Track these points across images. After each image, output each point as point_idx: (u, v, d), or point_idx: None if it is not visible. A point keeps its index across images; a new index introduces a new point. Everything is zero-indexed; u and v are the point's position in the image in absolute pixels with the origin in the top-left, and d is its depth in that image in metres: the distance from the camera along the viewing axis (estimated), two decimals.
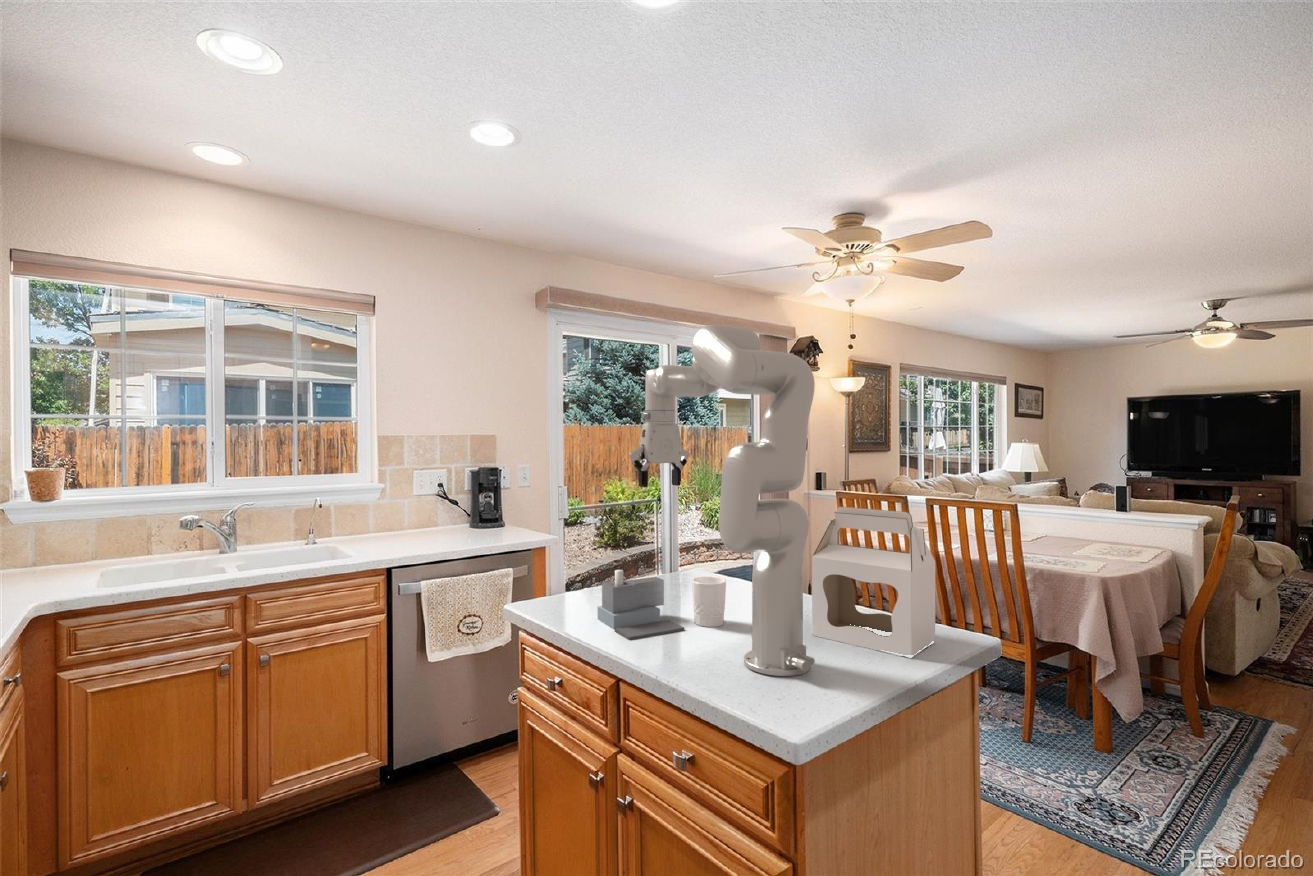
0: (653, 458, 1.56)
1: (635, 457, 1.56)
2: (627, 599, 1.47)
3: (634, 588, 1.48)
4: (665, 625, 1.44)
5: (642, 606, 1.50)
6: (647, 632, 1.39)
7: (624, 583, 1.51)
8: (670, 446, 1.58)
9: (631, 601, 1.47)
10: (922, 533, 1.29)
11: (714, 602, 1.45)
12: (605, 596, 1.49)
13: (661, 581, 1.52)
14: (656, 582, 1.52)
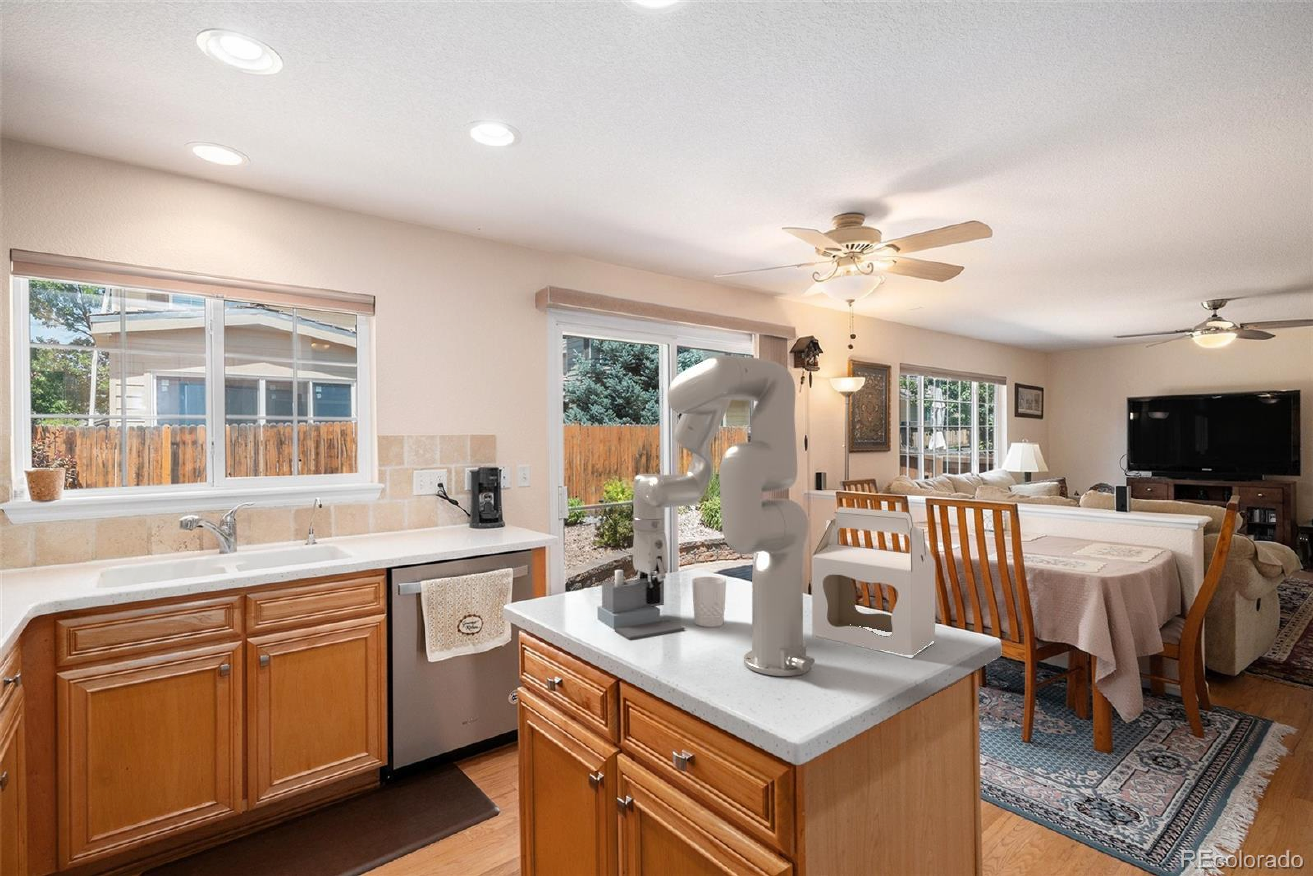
0: None
1: None
2: (627, 599, 1.47)
3: (634, 588, 1.48)
4: (665, 625, 1.44)
5: (642, 606, 1.50)
6: (647, 632, 1.39)
7: (624, 583, 1.51)
8: None
9: (631, 601, 1.47)
10: (922, 533, 1.29)
11: (714, 602, 1.45)
12: (605, 596, 1.49)
13: None
14: None
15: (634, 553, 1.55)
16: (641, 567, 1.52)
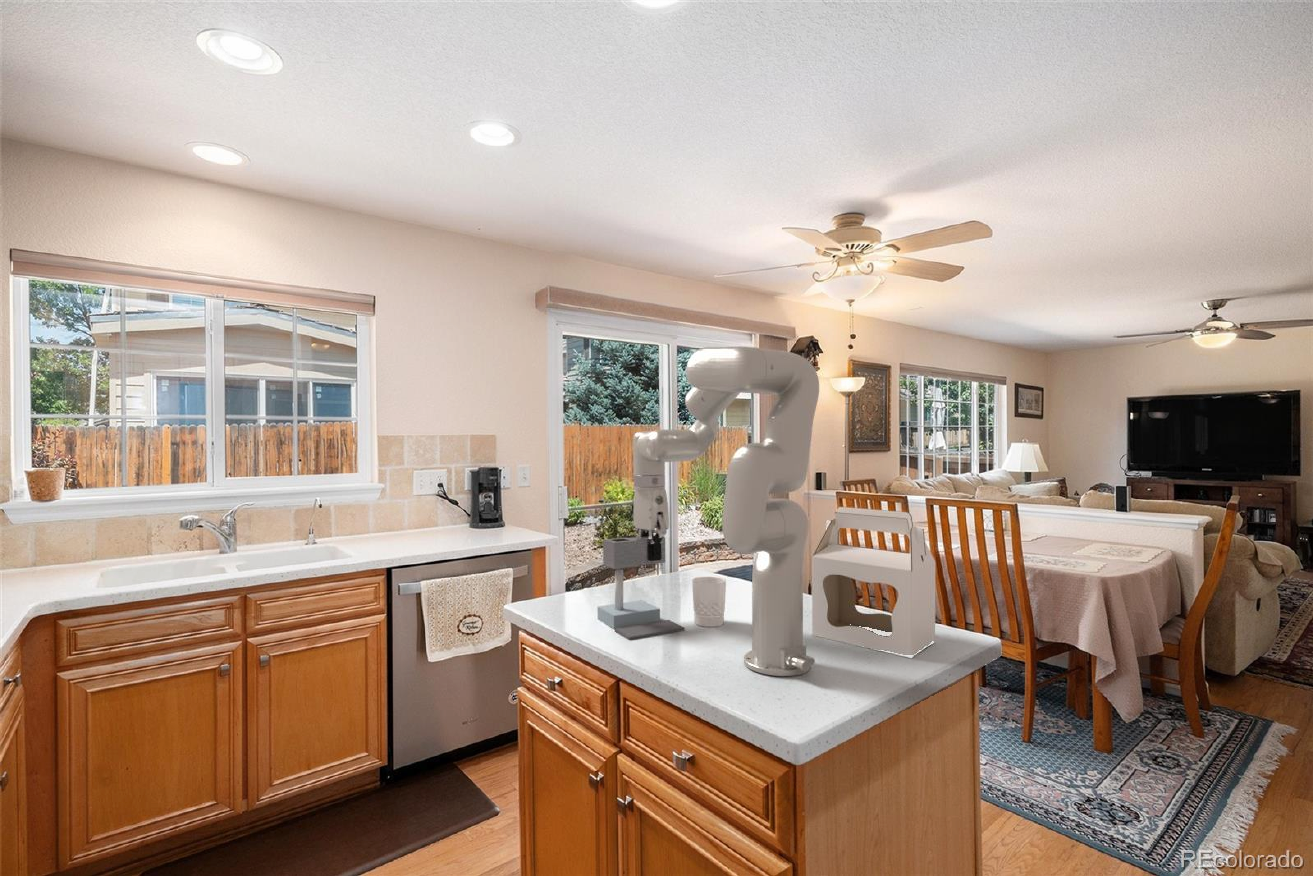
0: None
1: None
2: (628, 555, 1.46)
3: (635, 544, 1.47)
4: (665, 625, 1.44)
5: (643, 562, 1.49)
6: (647, 632, 1.39)
7: (625, 540, 1.50)
8: None
9: (632, 557, 1.47)
10: (922, 533, 1.29)
11: (714, 602, 1.45)
12: (606, 553, 1.48)
13: None
14: None
15: (635, 511, 1.54)
16: (642, 524, 1.51)
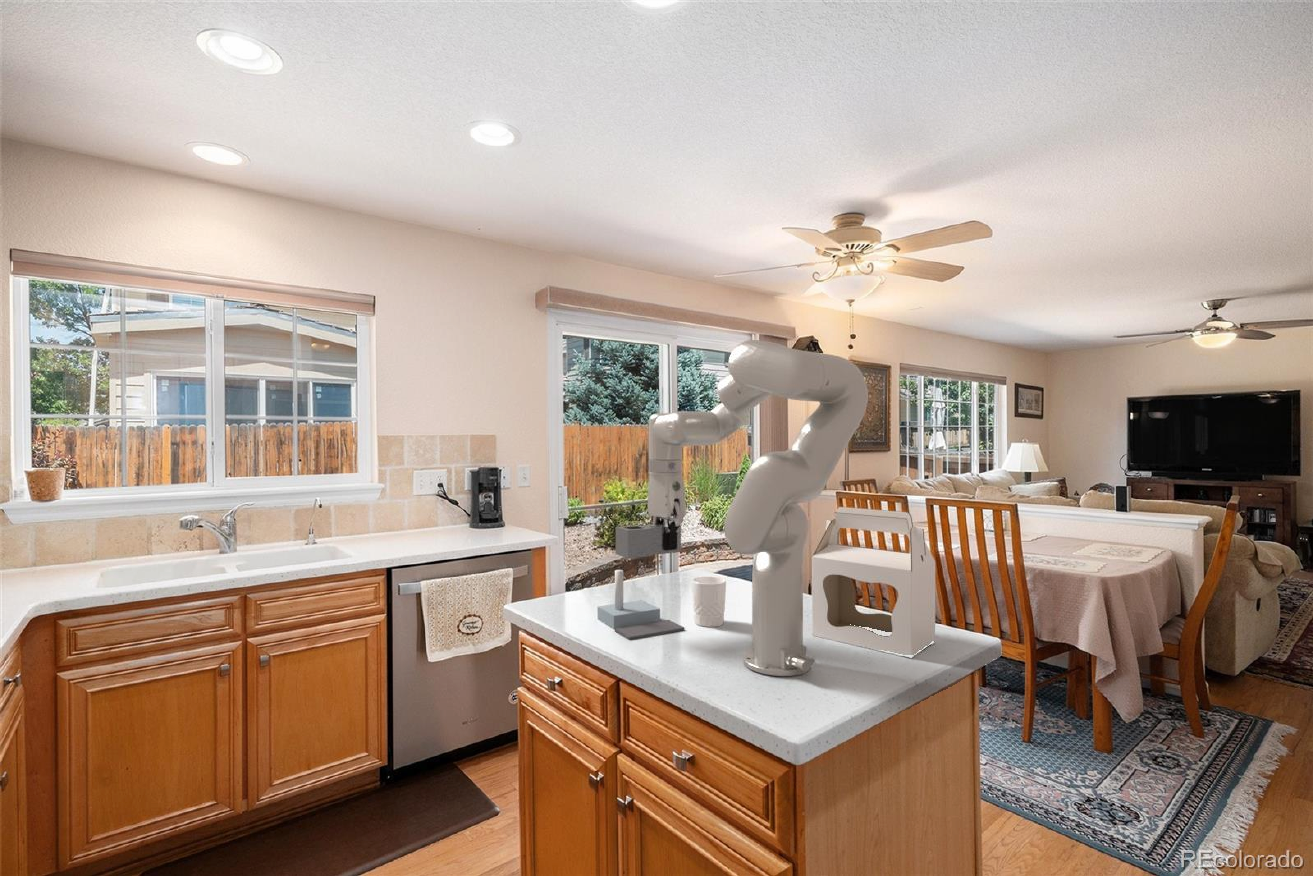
0: None
1: None
2: (643, 543, 1.38)
3: (650, 532, 1.39)
4: (665, 625, 1.44)
5: (658, 552, 1.41)
6: (647, 632, 1.39)
7: (639, 528, 1.42)
8: None
9: (647, 546, 1.38)
10: (922, 533, 1.29)
11: (714, 602, 1.45)
12: (619, 541, 1.40)
13: None
14: None
15: (649, 498, 1.46)
16: (657, 511, 1.43)
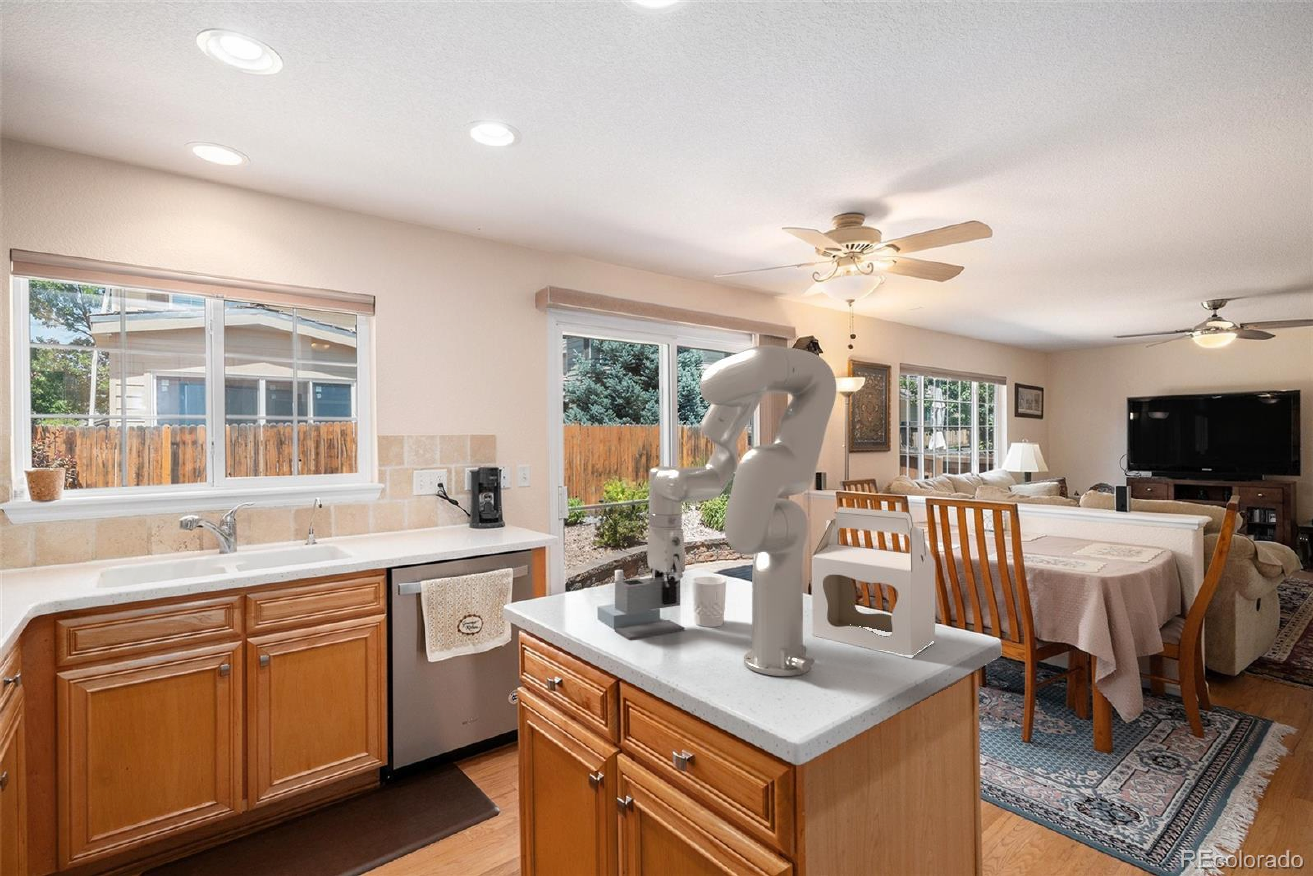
0: None
1: None
2: (642, 599, 1.38)
3: (649, 587, 1.39)
4: (665, 625, 1.44)
5: (657, 606, 1.41)
6: (647, 632, 1.39)
7: (638, 582, 1.42)
8: None
9: (646, 602, 1.39)
10: (922, 533, 1.29)
11: (714, 602, 1.45)
12: (618, 596, 1.40)
13: None
14: None
15: (649, 550, 1.46)
16: (656, 565, 1.43)
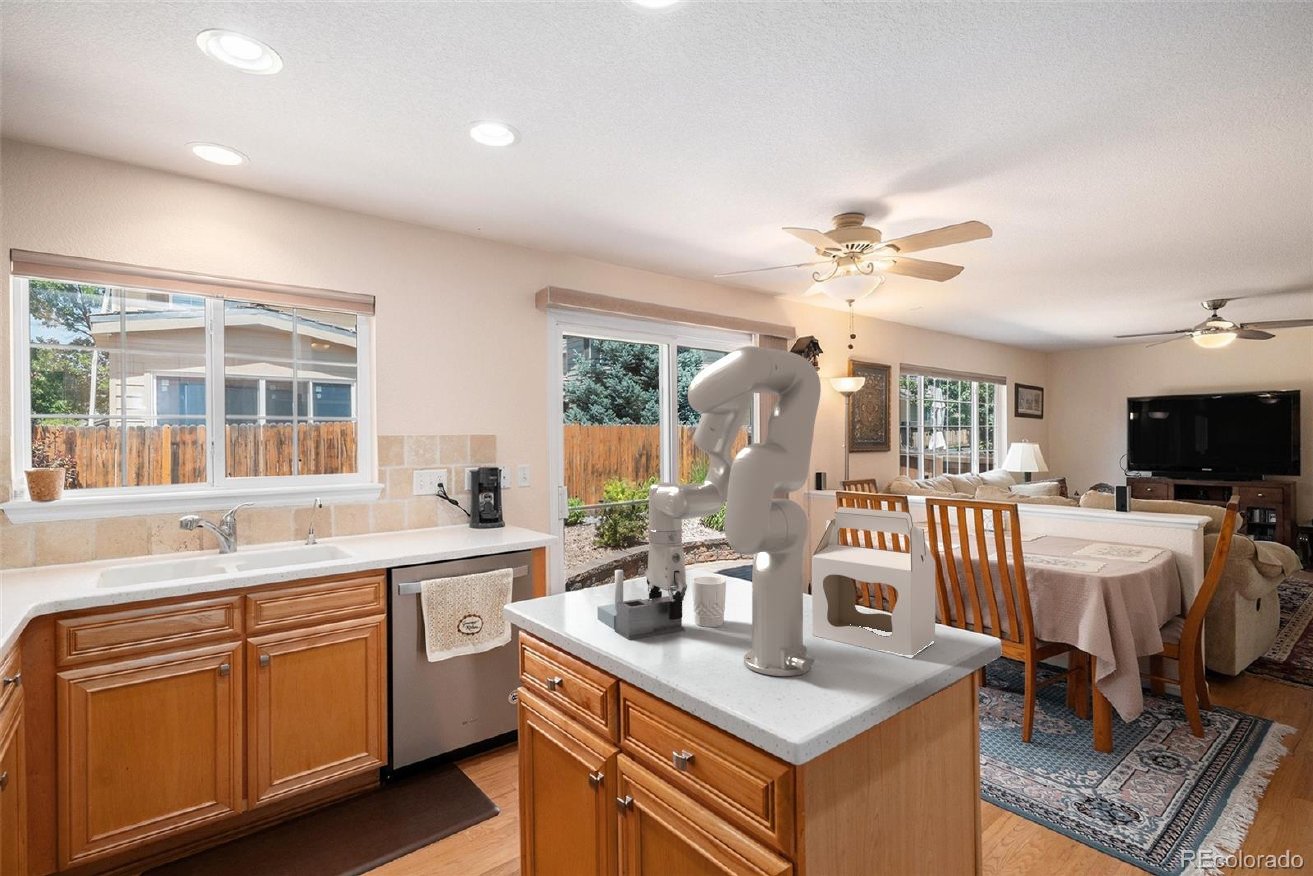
0: None
1: None
2: (643, 620, 1.38)
3: (651, 609, 1.39)
4: None
5: (659, 627, 1.41)
6: None
7: (640, 603, 1.42)
8: None
9: (648, 623, 1.39)
10: (922, 533, 1.29)
11: (714, 602, 1.45)
12: (620, 617, 1.40)
13: None
14: None
15: (649, 567, 1.46)
16: (657, 582, 1.43)
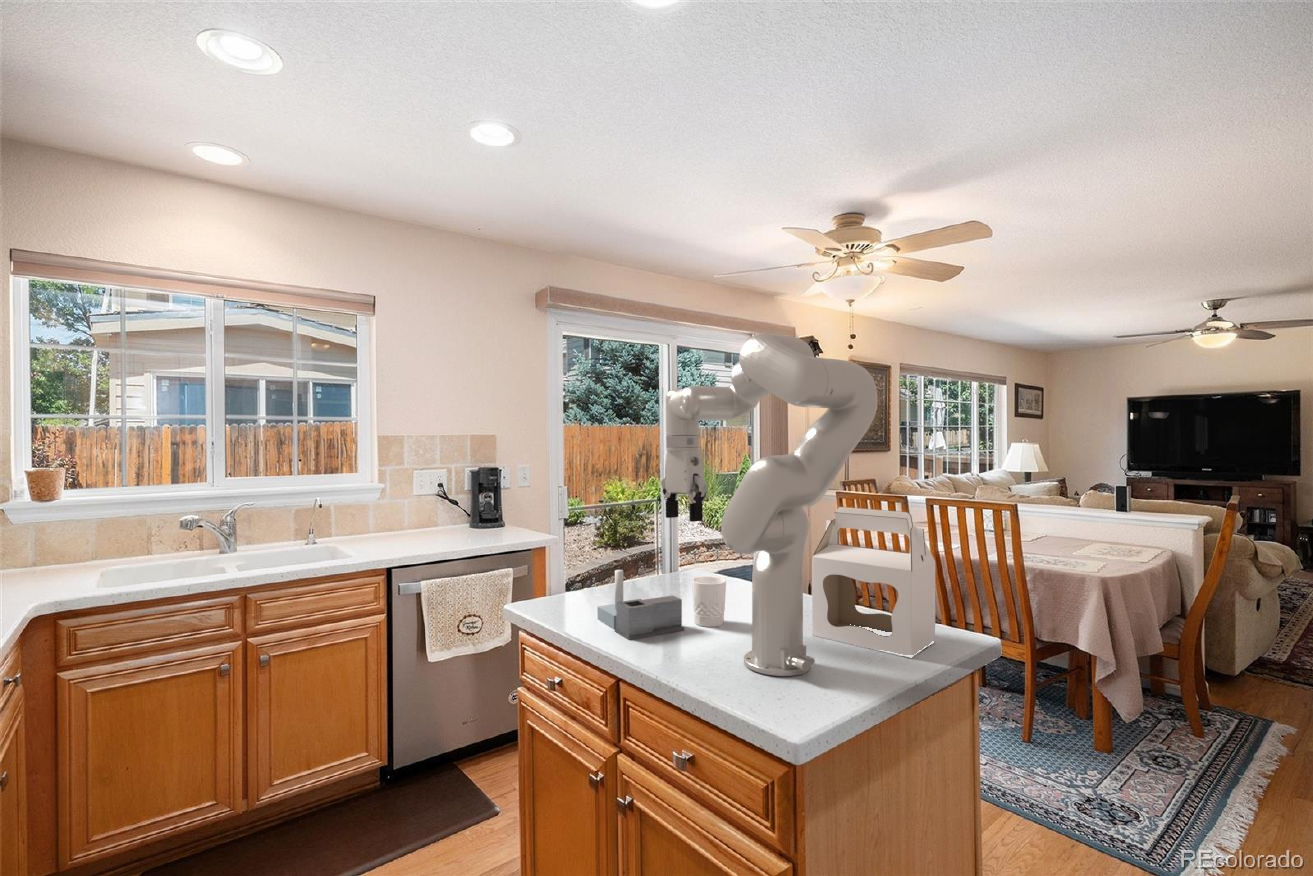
0: None
1: None
2: (643, 620, 1.38)
3: (651, 609, 1.39)
4: None
5: (659, 627, 1.41)
6: None
7: (640, 603, 1.42)
8: None
9: (648, 623, 1.39)
10: (922, 533, 1.29)
11: (714, 602, 1.45)
12: (620, 617, 1.40)
13: (679, 601, 1.44)
14: (674, 602, 1.43)
15: (667, 475, 1.46)
16: (675, 487, 1.43)
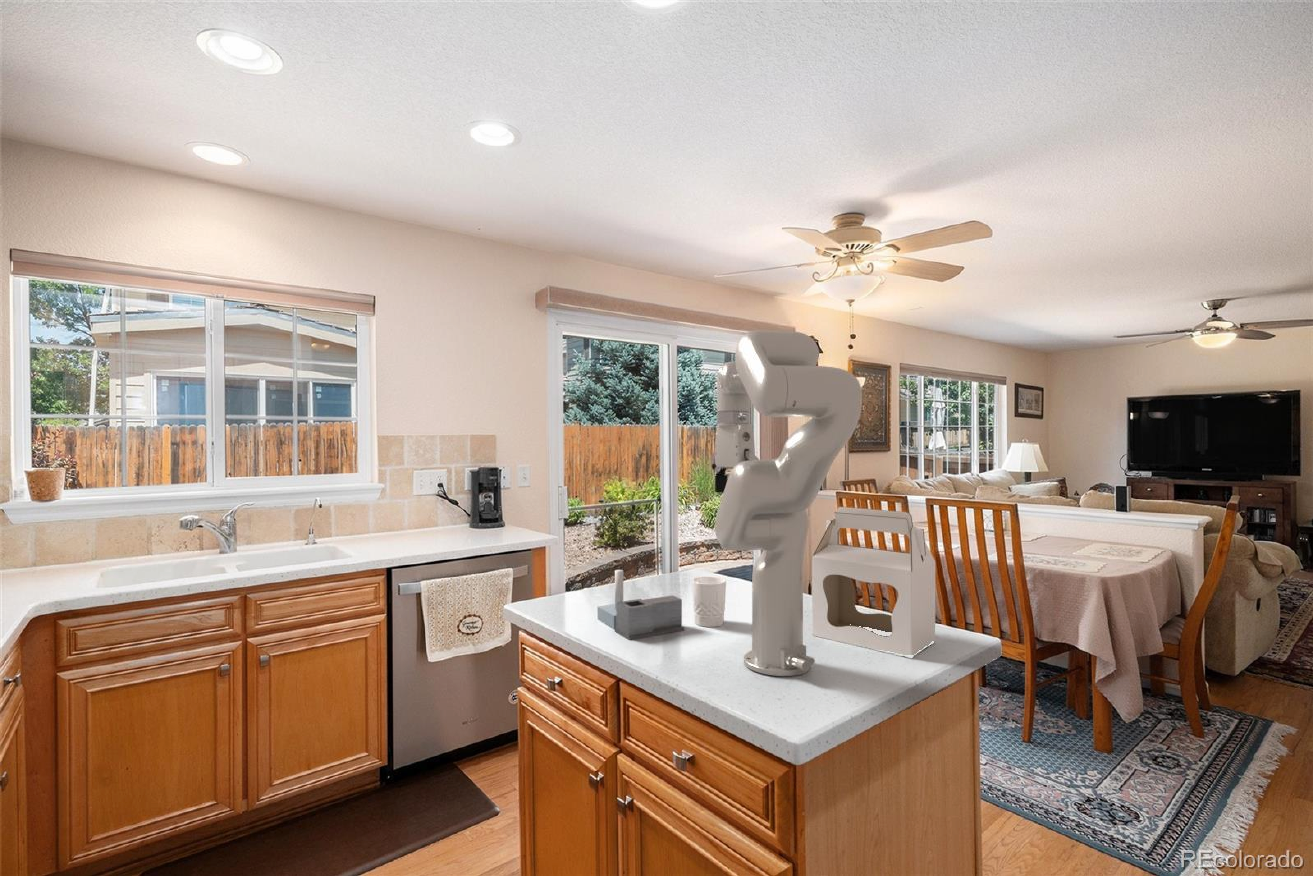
0: None
1: None
2: (643, 620, 1.38)
3: (651, 609, 1.39)
4: None
5: (659, 627, 1.41)
6: None
7: (640, 603, 1.42)
8: None
9: (648, 623, 1.39)
10: (922, 533, 1.29)
11: (714, 602, 1.45)
12: (620, 617, 1.40)
13: (679, 601, 1.44)
14: (674, 602, 1.43)
15: (717, 450, 1.48)
16: (726, 462, 1.45)
